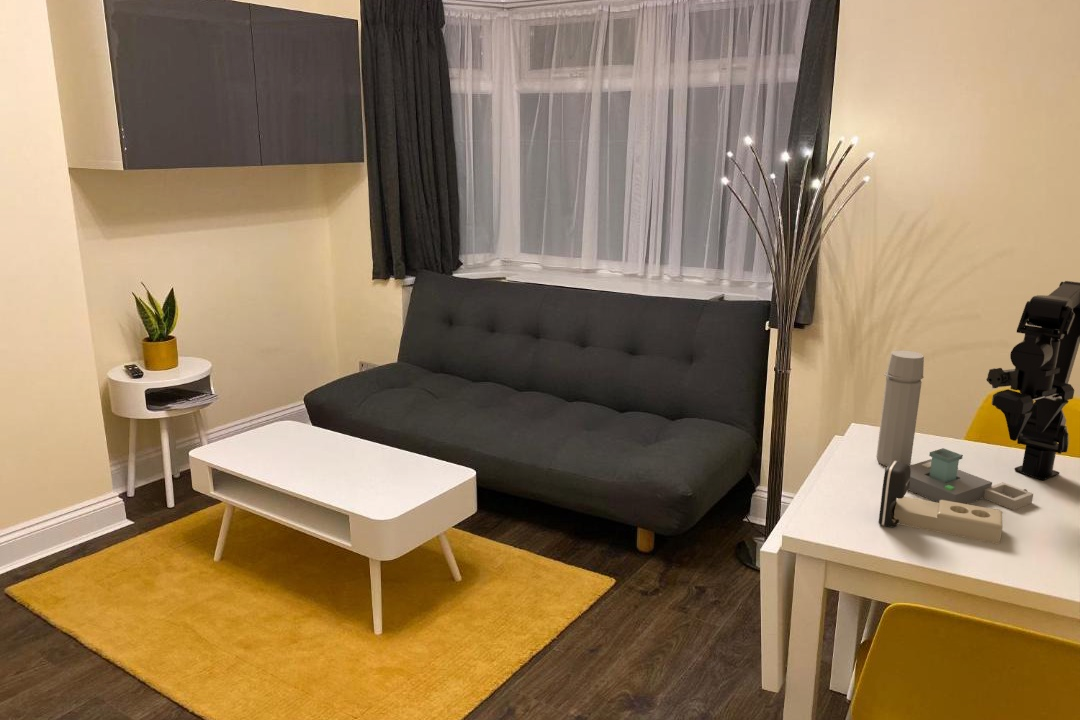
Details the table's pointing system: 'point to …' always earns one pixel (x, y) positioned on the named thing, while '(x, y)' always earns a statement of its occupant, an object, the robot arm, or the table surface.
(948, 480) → the plug
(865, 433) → the table surface
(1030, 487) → the table surface
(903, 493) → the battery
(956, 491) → the port panel
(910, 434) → the water bottle
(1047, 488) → the table surface
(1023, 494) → the beige frame with handle
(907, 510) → the electrical outlet
